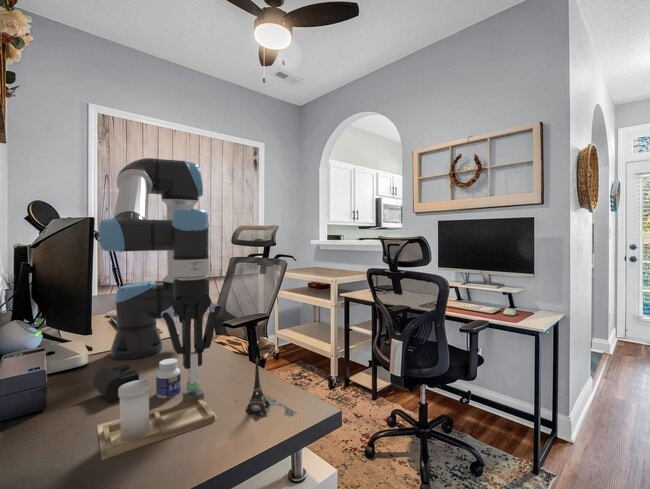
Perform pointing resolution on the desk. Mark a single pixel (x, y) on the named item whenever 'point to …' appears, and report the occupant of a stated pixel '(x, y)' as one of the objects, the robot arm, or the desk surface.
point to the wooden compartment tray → (159, 424)
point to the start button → (192, 387)
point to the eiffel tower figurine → (262, 401)
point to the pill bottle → (168, 379)
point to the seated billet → (134, 409)
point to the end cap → (113, 380)
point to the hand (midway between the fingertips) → (193, 381)
